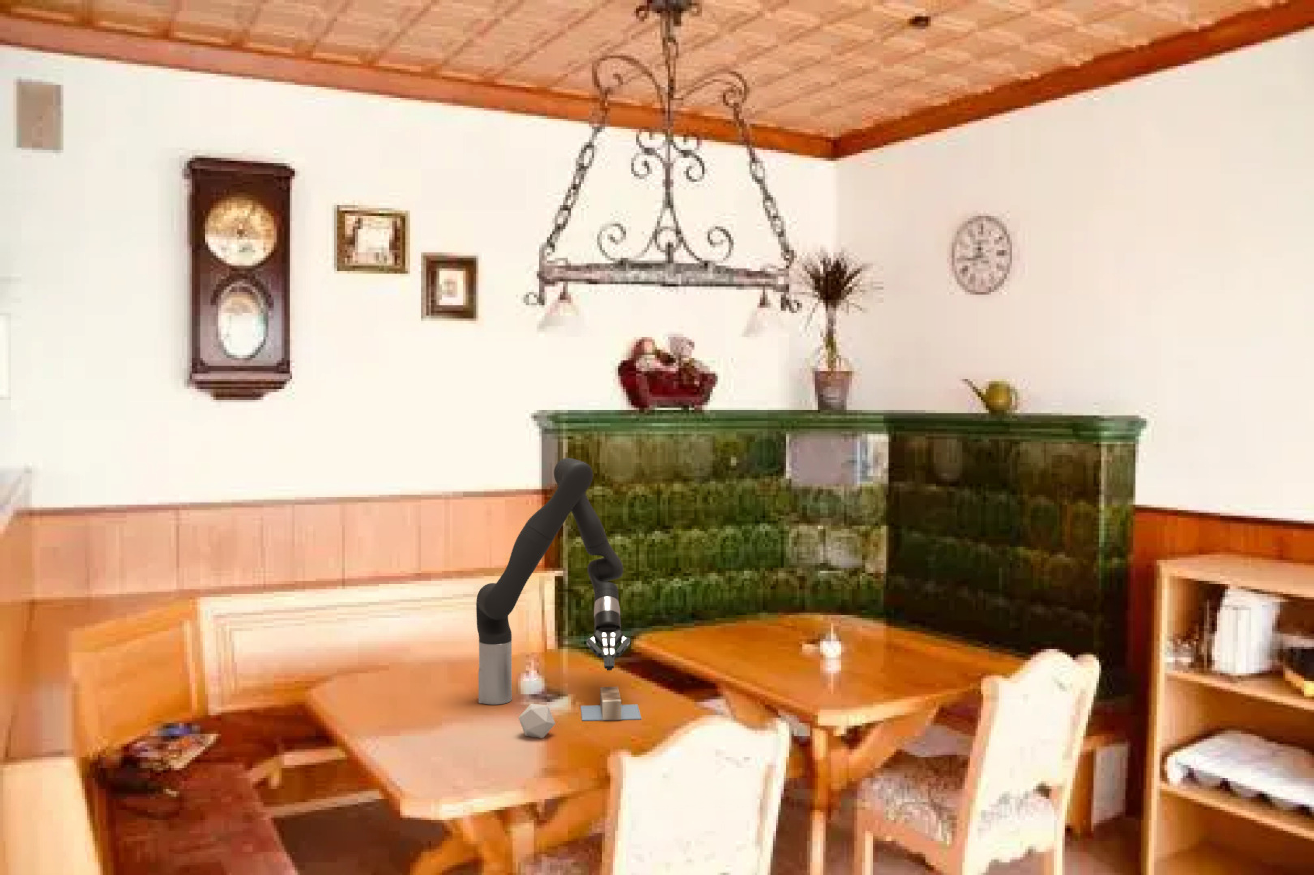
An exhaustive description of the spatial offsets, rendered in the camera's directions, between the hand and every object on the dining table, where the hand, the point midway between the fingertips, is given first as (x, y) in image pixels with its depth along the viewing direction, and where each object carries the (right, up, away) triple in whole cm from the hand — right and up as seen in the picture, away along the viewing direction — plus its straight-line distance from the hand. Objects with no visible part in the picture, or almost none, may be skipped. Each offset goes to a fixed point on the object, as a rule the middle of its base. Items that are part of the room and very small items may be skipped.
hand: (609, 669), depth 318 cm
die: (-18, -13, -24) cm, 32 cm away
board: (0, -11, -4) cm, 12 cm away
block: (0, -8, +3) cm, 8 cm away
